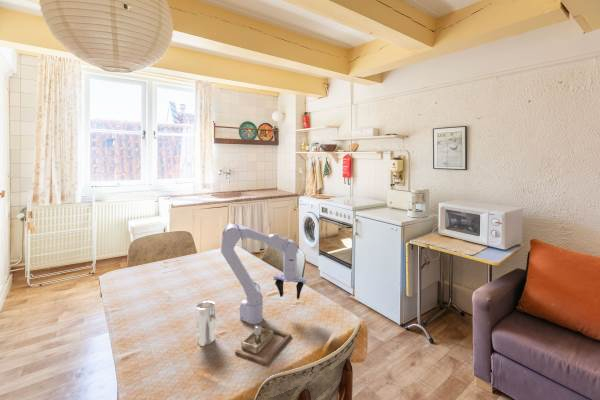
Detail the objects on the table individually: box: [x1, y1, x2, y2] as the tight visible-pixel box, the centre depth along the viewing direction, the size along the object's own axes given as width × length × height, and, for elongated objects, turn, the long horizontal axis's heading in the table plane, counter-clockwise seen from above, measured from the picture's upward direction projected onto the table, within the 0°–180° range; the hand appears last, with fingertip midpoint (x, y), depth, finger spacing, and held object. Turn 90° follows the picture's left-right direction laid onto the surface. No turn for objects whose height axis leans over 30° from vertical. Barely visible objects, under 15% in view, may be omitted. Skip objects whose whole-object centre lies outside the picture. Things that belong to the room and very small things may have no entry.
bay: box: [234, 325, 292, 366], centre depth 110 cm, size 13×18×2 cm
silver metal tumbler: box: [195, 300, 217, 347], centre depth 112 cm, size 7×7×15 cm
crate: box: [240, 324, 274, 355], centre depth 111 cm, size 7×11×6 cm, turn 154°
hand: (289, 297), depth 130 cm, fingers open, 7 cm apart
